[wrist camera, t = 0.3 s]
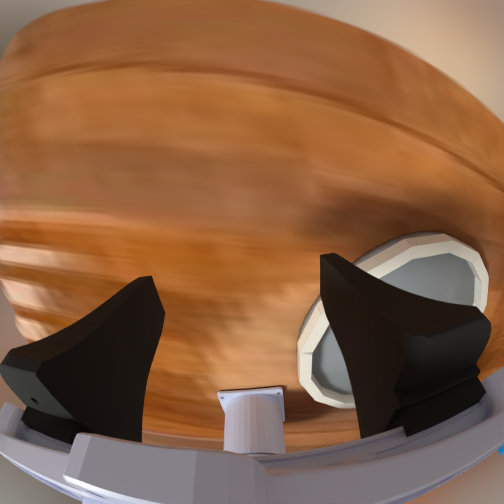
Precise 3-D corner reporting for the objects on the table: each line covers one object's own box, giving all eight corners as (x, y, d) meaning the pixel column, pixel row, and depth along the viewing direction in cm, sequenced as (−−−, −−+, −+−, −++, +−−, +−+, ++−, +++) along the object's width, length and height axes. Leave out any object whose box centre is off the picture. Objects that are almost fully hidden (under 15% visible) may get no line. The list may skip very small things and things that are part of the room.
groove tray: (443, 367, 32) (450, 378, 29) (297, 406, 32) (299, 421, 30) (494, 222, 21) (508, 231, 18) (291, 247, 22) (296, 262, 19)
